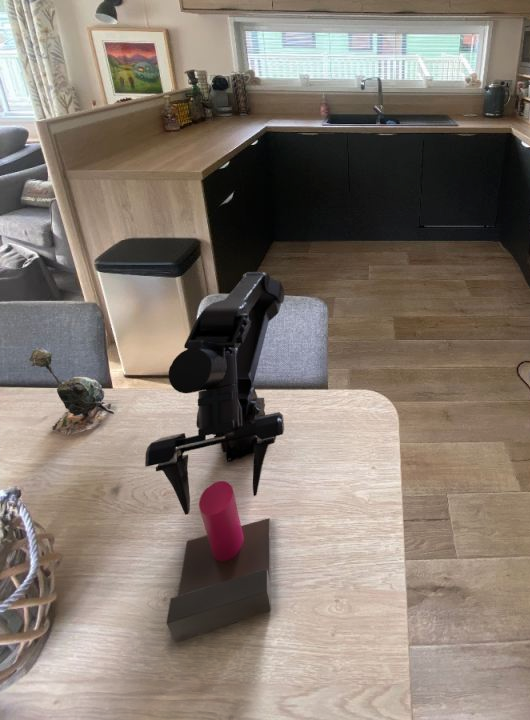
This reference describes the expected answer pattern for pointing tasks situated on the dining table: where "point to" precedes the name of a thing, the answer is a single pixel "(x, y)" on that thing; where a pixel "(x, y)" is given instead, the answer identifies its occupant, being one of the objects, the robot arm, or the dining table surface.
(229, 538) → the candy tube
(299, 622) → the dining table surface
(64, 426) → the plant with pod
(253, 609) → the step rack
